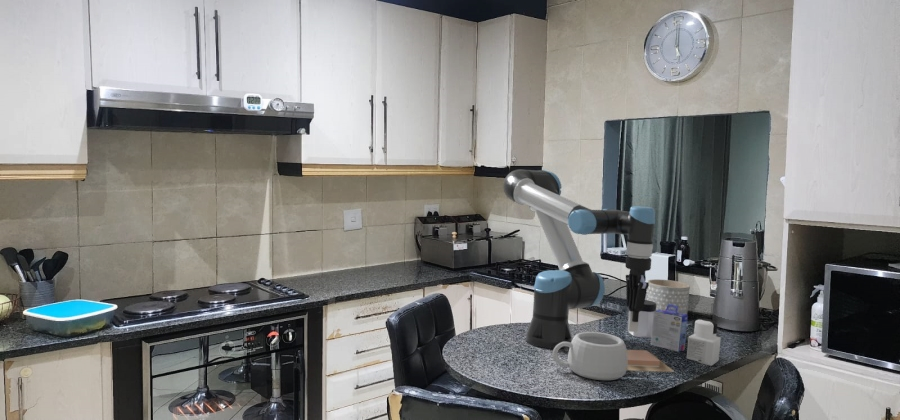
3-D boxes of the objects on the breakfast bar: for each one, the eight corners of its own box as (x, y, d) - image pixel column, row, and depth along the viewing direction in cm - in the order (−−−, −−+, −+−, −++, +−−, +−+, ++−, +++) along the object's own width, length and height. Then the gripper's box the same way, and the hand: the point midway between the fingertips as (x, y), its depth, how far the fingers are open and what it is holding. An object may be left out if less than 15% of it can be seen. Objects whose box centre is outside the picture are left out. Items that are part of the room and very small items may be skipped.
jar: (642, 339, 211) (645, 305, 210) (624, 333, 218) (627, 300, 217) (659, 336, 216) (662, 303, 215) (640, 330, 223) (643, 298, 222)
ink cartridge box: (685, 350, 201) (689, 307, 200) (679, 353, 197) (683, 310, 196) (656, 343, 208) (660, 301, 207) (649, 346, 204) (653, 303, 202)
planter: (689, 320, 243) (692, 289, 242) (646, 315, 247) (649, 284, 246) (684, 311, 259) (687, 282, 258) (644, 306, 263) (646, 277, 262)
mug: (616, 363, 183) (619, 331, 182) (635, 384, 166) (637, 348, 165) (546, 360, 182) (548, 328, 181) (557, 381, 165) (559, 345, 164)
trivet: (621, 372, 176) (621, 370, 176) (601, 352, 194) (601, 350, 194) (674, 373, 177) (674, 371, 177) (649, 353, 195) (650, 352, 195)
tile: (614, 354, 190) (626, 365, 180) (615, 349, 190) (627, 359, 180) (646, 355, 190) (659, 366, 180) (646, 350, 190) (659, 360, 180)
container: (693, 355, 197) (697, 315, 196) (718, 361, 192) (722, 320, 191) (685, 360, 191) (689, 319, 190) (711, 366, 186) (715, 325, 185)
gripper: (659, 260, 181) (652, 337, 183) (642, 253, 194) (636, 325, 196) (635, 259, 181) (628, 336, 183) (619, 252, 194) (613, 324, 196)
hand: (632, 330), depth 190 cm, fingers closed
